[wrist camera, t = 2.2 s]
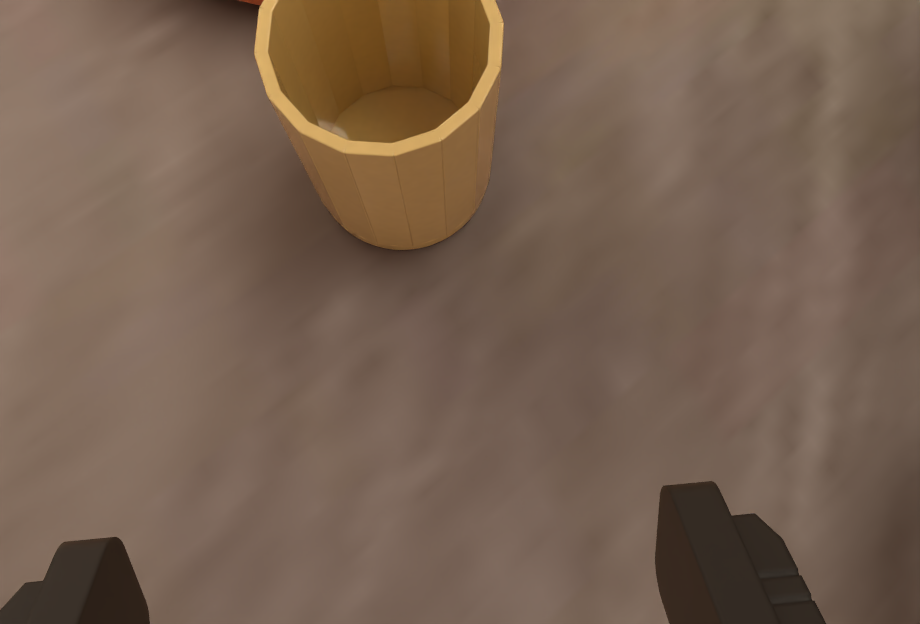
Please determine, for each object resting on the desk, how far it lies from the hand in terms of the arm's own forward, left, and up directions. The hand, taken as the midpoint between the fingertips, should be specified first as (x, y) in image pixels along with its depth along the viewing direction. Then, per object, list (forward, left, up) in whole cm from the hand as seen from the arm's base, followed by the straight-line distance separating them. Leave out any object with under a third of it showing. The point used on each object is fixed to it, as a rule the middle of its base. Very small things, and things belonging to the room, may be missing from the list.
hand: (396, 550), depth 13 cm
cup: (-7, -9, -15) cm, 19 cm away
